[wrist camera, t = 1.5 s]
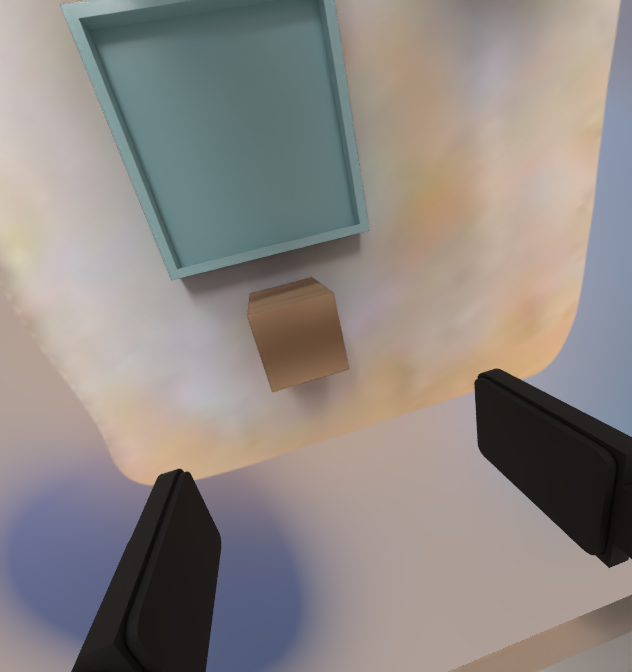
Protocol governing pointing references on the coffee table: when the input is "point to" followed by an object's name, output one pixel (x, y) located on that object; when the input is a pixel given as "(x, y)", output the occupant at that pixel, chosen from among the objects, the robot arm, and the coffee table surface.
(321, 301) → the walnut block
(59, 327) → the coffee table surface
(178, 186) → the teal dish
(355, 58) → the coffee table surface
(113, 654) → the robot arm
